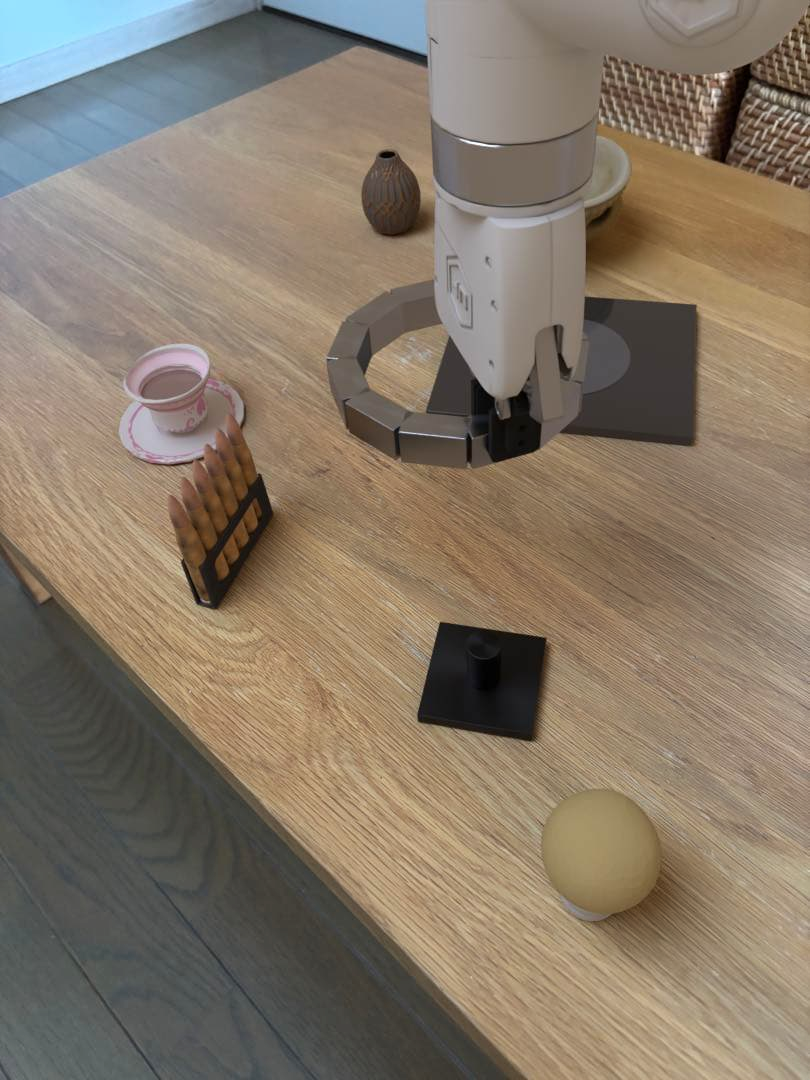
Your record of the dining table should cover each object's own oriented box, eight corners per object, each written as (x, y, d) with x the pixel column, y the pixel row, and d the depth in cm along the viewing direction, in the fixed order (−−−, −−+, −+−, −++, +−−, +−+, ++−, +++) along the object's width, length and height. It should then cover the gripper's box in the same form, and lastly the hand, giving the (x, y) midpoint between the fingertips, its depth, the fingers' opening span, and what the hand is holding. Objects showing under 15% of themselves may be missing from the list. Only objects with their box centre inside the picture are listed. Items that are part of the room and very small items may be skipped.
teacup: (207, 478, 78) (189, 426, 73) (96, 452, 81) (72, 401, 76) (266, 393, 85) (253, 342, 80) (161, 373, 88) (143, 322, 83)
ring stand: (546, 644, 64) (550, 605, 60) (531, 741, 59) (535, 705, 55) (440, 628, 65) (437, 589, 62) (417, 722, 60) (413, 685, 57)
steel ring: (373, 496, 53) (369, 465, 51) (309, 338, 63) (304, 308, 61) (628, 427, 55) (633, 396, 53) (524, 287, 66) (526, 257, 64)
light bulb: (569, 968, 50) (585, 913, 42) (516, 866, 54) (522, 799, 46) (663, 919, 51) (695, 857, 43) (605, 824, 55) (625, 752, 47)
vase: (422, 240, 101) (417, 167, 94) (363, 243, 101) (355, 170, 95) (422, 209, 105) (418, 137, 99) (366, 212, 106) (358, 141, 99)
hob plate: (694, 312, 89) (696, 303, 88) (691, 446, 76) (693, 437, 75) (464, 295, 93) (464, 286, 92) (426, 418, 81) (425, 410, 80)
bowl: (616, 203, 103) (626, 122, 96) (625, 289, 92) (638, 205, 85) (469, 204, 105) (468, 125, 98) (460, 289, 94) (458, 207, 87)
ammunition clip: (255, 508, 75) (223, 402, 66) (274, 513, 74) (245, 407, 65) (195, 604, 68) (151, 502, 59) (216, 610, 68) (174, 507, 59)
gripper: (384, 98, 44) (407, 379, 58) (504, 252, 34) (498, 548, 48) (519, 68, 46) (510, 351, 60) (674, 210, 35) (620, 510, 49)
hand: (505, 437), depth 54 cm, fingers closed on steel ring, 2 cm apart
